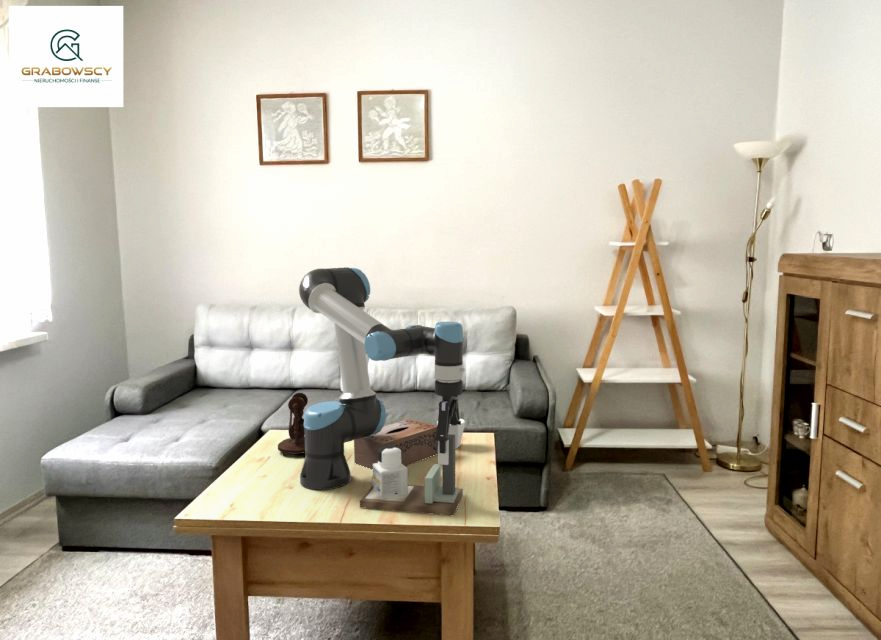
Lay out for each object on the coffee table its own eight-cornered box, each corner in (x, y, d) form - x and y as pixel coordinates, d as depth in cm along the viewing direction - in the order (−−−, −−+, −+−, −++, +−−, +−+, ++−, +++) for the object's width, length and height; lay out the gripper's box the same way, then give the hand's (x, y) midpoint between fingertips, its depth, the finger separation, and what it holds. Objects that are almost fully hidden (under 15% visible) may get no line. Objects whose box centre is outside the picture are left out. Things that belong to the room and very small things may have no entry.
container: (372, 489, 180) (371, 445, 179) (398, 485, 183) (397, 441, 182) (381, 499, 173) (381, 453, 172) (408, 494, 176) (407, 449, 175)
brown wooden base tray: (359, 507, 173) (359, 500, 173) (375, 488, 187) (375, 481, 186) (453, 515, 167) (453, 507, 167) (462, 495, 181) (462, 488, 181)
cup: (436, 450, 221) (436, 425, 219) (437, 442, 230) (437, 417, 229) (465, 451, 220) (465, 425, 219) (465, 442, 230) (465, 417, 229)
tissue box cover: (409, 445, 227) (409, 418, 226) (439, 454, 218) (439, 426, 216) (354, 464, 208) (353, 434, 207) (384, 474, 199) (384, 443, 197)
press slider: (424, 502, 170) (424, 440, 168) (434, 487, 181) (433, 429, 179) (452, 505, 169) (452, 442, 167) (459, 489, 179) (459, 430, 177)
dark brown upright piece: (282, 444, 228) (280, 390, 226) (323, 443, 229) (322, 389, 227) (274, 458, 214) (271, 400, 211) (318, 457, 215) (316, 399, 212)
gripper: (453, 390, 158) (453, 472, 160) (470, 370, 182) (469, 442, 185) (424, 389, 159) (424, 470, 162) (444, 369, 184) (444, 440, 186)
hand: (448, 455), depth 173 cm, fingers open, 13 cm apart
